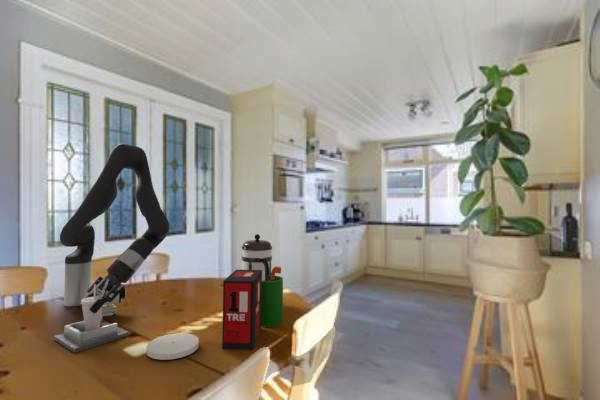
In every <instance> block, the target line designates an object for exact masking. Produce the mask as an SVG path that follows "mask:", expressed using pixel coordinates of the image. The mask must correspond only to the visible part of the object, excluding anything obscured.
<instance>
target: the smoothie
mask: <svg viewBox="0 0 600 400" xmlns="http://www.w3.org/2000/svg"><path fill="white" fill-rule="evenodd" d="M93 289H94V296H93V297H87V298H84V299H82V300H81V304H82V307H81V309H82V314H83V315H82V316H83V321H84V324H85V331H89V330H92V329H96V328H99V327H100V321H101V315H102V308H103V306H102V307H101V308H100V309H99V310H98V311H97V313H93V312H91V311H90V310H89V309H90V308H91V307H92V305H93V304H94V303H95V302H96V301H97V300H98V299H99V298H100V296H96V284H94V288H93ZM99 300H100V299H99Z"/></svg>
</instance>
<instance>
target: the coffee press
mask: <svg viewBox="0 0 600 400" xmlns="http://www.w3.org/2000/svg"><path fill="white" fill-rule="evenodd" d="M260 238H261V235H260V234H259V233H258V234H257V233H256V234H255V235H254V239H251V240H246V241H245V242H243V244H242V245H241V250H242V256H241V262H242V263H241V265H242V266H241V267H242V268H241V270H262V281H264V280H267V276H271V272H272V260H273V254H272V250H273V246H272V243H271V242H269V241H268V240H265V239H262V240H261V239H260Z"/></svg>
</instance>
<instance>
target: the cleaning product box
mask: <svg viewBox="0 0 600 400" xmlns="http://www.w3.org/2000/svg"><path fill="white" fill-rule="evenodd" d="M222 286H223V288H222V291H223V292H222V294H223V295H222V298H223V299H222V336H221V337H222V339H221V340H222V341H221V348H222V350H237V351H253V349H254V348H255V345H256V343H257V339H258V337H259V335H260V332H261V330H262V327H261V302H262V270H242V269H235V270H234V271H233V272H232V273H230V274H229V275H228V276H227V277H226V278H225V279H224V280H223V285H222ZM260 329H261V330H260Z"/></svg>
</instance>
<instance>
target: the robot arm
mask: <svg viewBox="0 0 600 400" xmlns="http://www.w3.org/2000/svg"><path fill="white" fill-rule="evenodd" d="M124 169H127V170H133V171H134V173H135V175H136V177H137V186H136V189H135V200H136V204H137V206H138V208H139V211H140V213H141V216H143V217H144V218H145V221H146V223H147V229H146V231H144V233H143V234H142V235H141V236H140V237H138V238H136V239H135V240H134V241H133V242H132V243H131V244H130V245H129V246H128V247H127V248H126V249H125V250H124V251H123V252H122V253H121V254H120V255H119V256H118V257H117V258H116V259H115V260H114V262H112V263H111V265H110V266H109V267H108V268H107V269H106V272H107V275H105V276H104V277H102V276H98V277H97V279H96V280H95V281H94V282H93V283H92V264H93V263H92V258H93V256H94V253H95V252H94V251H95V243H96V241H95V239H96V238H95V237H96V232H95V228H94V226H93V225H91V224H90V222H92V221H93V220H95V219H97V218H98V217H99V216H101V215H102V214H104V213H106V212H107V211H108V210H109V209H110V207H111V206H112V205H113V203H114V202H115V200H116V199H117V197H118V186H117V185H118V184H117V180H118V178H119V175H120V174H121V172H122V171H123V170H124ZM170 227H171V226H170V223H169V220H168V217H167V215H166V213H165V212H164V211H163V210H162V207H161V204H160V202H159V200H158V197H157V194H156V192H155V188H154V185H153V181H152V176H151V170H150V166H149V160H148V157H147V154H146V151H145V150H144V149H143V148H141V147H140V146H136V145H131V144H127V143H126V144H125V143H119V144H117V145H116V146H115V147H113V149H112V150H111V152H110V153H109V156H108V158H107V160H106V163H105V165H104V167H103V169H102V171H101V172H100V174H99V176H98V178H97V179H96V181H95V182H94V184H93V185H92V186H91V188H90V190H89V191H88V193H87V194H86V196H85V197H84V200H83V201H82V203H81V204H80V205H79V206H78V208H77V210H76V211H75V212H74V214H73V215H72V216H71V217H70V219H68V220H67V222H66V223H65V225H63V227H62V229H61V231H60V234H59V241H60V243H61V244H62V245H63V246H65V247H67V248H68V247H70V248H71V247H76V249H75V250H74V251H72V252H71V253H70V254H67V255H66V256H65V258H64V286H63V288H64V289H63V306H64V307H81V308H82V304H81V300H82V299H84V298H87V297H93V296H94V284H96V296H99V295H101V296H100V298H99V299H100V300H99V299H98V300H97V301H96V302H95V303H94V304H93V305H92V307H91V308H90V309H89V310H90V311H91V312H93V313H97V311H98V310H99V309H100V308H101V307H102V306H103V304H104V303H107V302H112V301H113V300H114V298H115V297H116V296H117V295H118V294H119V293H120V292H121V291H122V290H123V289H124V288H125V287H126V286H125V285H124V284H126V283H128V282H129V280H130V279H131V278H132V277H133V275H135V274H136V272H137V271H138V270H139V269H140V267H141V266H142V265H143V263H144V262H145V261H146V259H147V258H148V257H149V256H150V255H151V254H152V252H153V250H155V249H156V248H157V247H158V246H159V245H160V244H161V243H162V242H163V241H164V240H165V238H166V237H167V236H168V233H169V231H170ZM116 290H117V291H116ZM97 292H98V293H97ZM113 294H114V295H113ZM110 297H111V298H110Z"/></svg>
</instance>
